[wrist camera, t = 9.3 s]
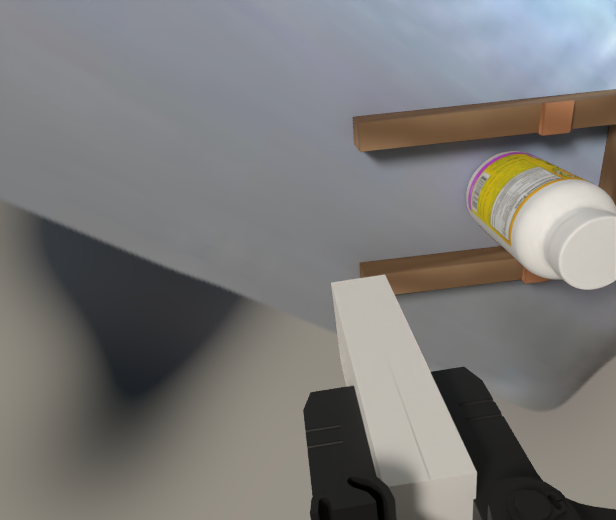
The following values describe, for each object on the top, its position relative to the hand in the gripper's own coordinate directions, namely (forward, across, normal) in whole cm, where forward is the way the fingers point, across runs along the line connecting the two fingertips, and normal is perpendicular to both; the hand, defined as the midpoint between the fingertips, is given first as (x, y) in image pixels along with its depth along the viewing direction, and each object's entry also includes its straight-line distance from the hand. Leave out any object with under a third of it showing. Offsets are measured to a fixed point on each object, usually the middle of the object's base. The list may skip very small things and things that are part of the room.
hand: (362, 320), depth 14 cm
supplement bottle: (+26, +16, -7) cm, 31 cm away
